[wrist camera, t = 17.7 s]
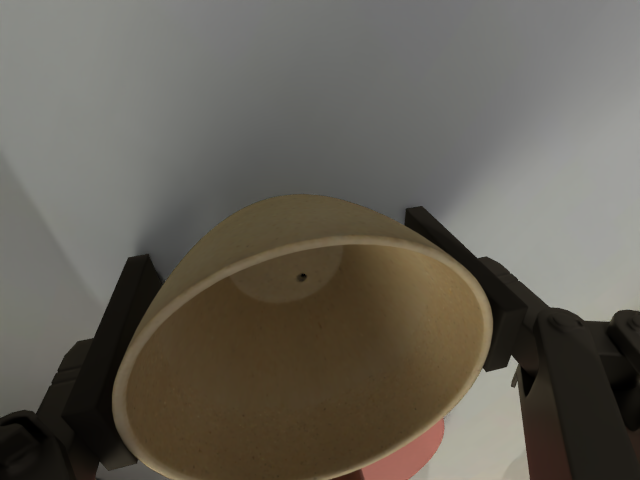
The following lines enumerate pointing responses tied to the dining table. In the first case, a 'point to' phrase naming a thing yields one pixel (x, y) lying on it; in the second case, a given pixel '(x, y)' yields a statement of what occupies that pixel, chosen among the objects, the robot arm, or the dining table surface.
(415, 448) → the lid
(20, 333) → the dining table surface
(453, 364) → the flower pot
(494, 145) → the dining table surface
